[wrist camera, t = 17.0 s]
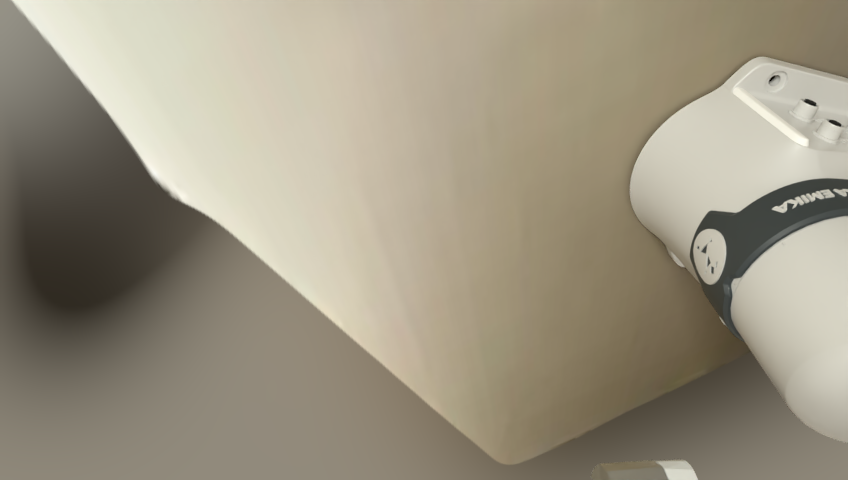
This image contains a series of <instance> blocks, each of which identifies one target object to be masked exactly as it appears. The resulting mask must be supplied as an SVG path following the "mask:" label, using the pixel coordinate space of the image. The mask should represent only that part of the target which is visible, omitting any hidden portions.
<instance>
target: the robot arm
mask: <svg viewBox="0 0 848 480" xmlns="http://www.w3.org/2000/svg"><path fill="white" fill-rule="evenodd" d="M774 75H775V78H774V79H773V80H772V81H770V82H769V80H770V78H771V77H772V76H774ZM630 199H631V204H632V207H633V210H634V212H635V214H636V216H637V218H638V219H639V221H640V222H641V223H642V224H643V225H644V226H645V227H646V228H647V229H648V230H649V231H651V232H652V233H653V234H654V235H655V236H657V237H658V238H659V239H660V240H661V241H662V242H663V243H664V244H665V246H666V248H667V251H668V253H669V255H670V256H671V258H672V259H673V260H674V261H675V262H676V264H677V265H679V266H681V267H686V269H687V270H688V271H689V272H690V273H691V274H692V276H693V277H694V278H695V279H696V280H697V281H698V282H699V284H700V285H701V286H702V288H703V291H704V293H705V295H706V297H707V298H708V300H709V301H710V303H711V304H712V306H713V307H714V309H715V310H716V312H717V313H718V315H719V316H720V317H719V318H720V319H721V321H722V322H723V324H724V325H726V326H727V327H728V329H729V330H730V331H731V332H732V333H733V334H734V335H735V336H736V337H737V338H738V339H740V340H741V341H743V342H745V343H746V344H747V346H748V347H749V349H750V350H751V352H752V353H753V355H754V356H755V358H756V359H757V361H758V362H759V364H760V365H761V367H762V368H763V370H764V371H765V373H766V374H767V376H768V377H769V379H770V380H771V382H772V383H773V385H774V386H775V388H776V389H777V391H778V392H779V394H780V395H781V397H782V398H783V400H784V401H785V403H786V404H787V406H788V407H789V409H790V411H791V412H792V413H793V414H794V415H795V416H796V417H797V418H798V419H799V420H801V421H802V422H803V423H804V424H806V425H807V426H808V427H810V428H811V429H813V430H815V431H817V432H818V433H820V434H822V435H824V436H827V437H829V438H831V439H835V440H838V441H841V442H845V443H848V78H844V77H841V76H837V75H833V74H829V73H825V72H822V71H818V70H814V69H810V68H806V67H803V66H799V65H795V64H791V63H787V62H783V61H780V60H776V59H772V58H768V57H757V58H754V59H752V60H750V61H749V62H747V63H746V64H745V65H743V66H742V67H741V68H740V69H739V70H738V71H737V72H736V73H734V74H733V75H732V76H731V77H730V78H729V79H728V80H727V81H726V82H725V83H724V84H723V85H722V86H721V87H719V88H718V89H716V90H715V91H713V92H711V93H709V94H707V95H705V96H703V97H701V98H699V99H697V100H695V101H694V102H692V103H690V104H688V105H687V106H685V107H684V108H682V109H681V110H679V111H678V112H677V113H675V114H674V115H673V116H671V117H670V118H669V119H668V120H667V121H666V122H665V123H663V124H662V125H661V126H660V127H659V128H658V129H657V131H656V132H655V133H654V134H653V135H652V136H651V138H650V139H649V140H648V142H647V143H646V145H645V146H644V148H643V149H642V151H641V153H640V155H639V157H638V159H637V161H636V163H635V166H634V169H633V172H632V176H631V181H630ZM591 478H592V480H698V478H697V476H696V474H695V472H694V470H693V468H692V466H691V465H690V464H689V463H688V462H687V461H685V460H681V459H676V460H661V461H654V460H648V461H633V462H619V463H604V464H598V465H597V466H595V467H594V469H593V471H592V474H591Z"/></svg>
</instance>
